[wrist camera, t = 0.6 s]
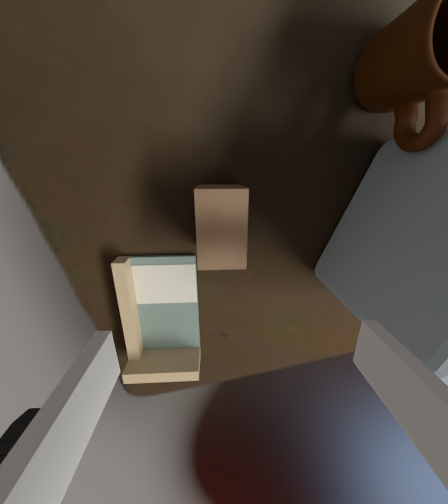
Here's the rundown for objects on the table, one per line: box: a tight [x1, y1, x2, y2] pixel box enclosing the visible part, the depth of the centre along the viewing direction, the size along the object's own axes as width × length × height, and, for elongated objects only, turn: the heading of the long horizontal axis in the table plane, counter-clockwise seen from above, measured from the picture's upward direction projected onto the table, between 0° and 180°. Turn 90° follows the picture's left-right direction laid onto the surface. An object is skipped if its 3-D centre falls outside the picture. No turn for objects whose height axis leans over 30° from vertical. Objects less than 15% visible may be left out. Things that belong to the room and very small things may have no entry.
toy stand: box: [111, 255, 200, 384], centre depth 31 cm, size 17×10×5 cm, turn 0°
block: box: [194, 184, 249, 270], centre depth 26 cm, size 8×5×8 cm, turn 0°
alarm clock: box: [315, 129, 448, 386], centre depth 21 cm, size 18×9×21 cm, turn 159°
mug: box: [353, 0, 448, 153], centre depth 21 cm, size 12×8×9 cm, turn 177°
